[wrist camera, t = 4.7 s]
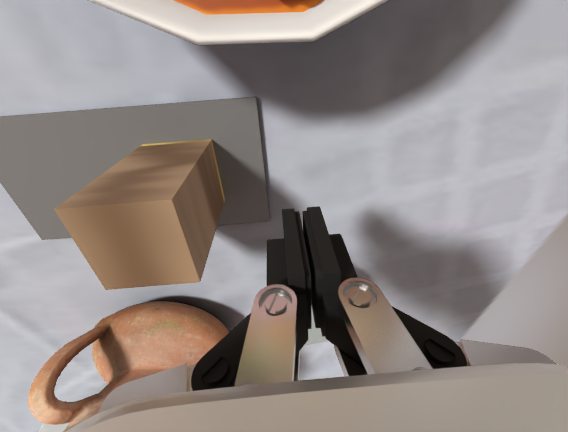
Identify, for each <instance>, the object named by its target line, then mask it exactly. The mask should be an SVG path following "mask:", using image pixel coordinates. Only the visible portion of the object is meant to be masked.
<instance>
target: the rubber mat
mask: <svg viewBox="0 0 568 432" xmlns="http://www.w3.org/2000/svg"><path fill="white" fill-rule="evenodd" d="M206 139H212V143H213V147H214V152H215V156H216V161H217V166H218V170H219V175H220V179H221V184H222V189H223V193H224V198H225V201H224V204H223V208H222V211H221V214H220V218H219V221H218V224H217V226H219V225H231V224H244V223H256V222H268V221H270V214H269V206H268V197H267V188H266V179H265V170H264V161H263V153H262V144H261V135H260V126H259V117H258V108H257V100H256V97H245V98H232V99H219V100H207V101H194V102H181V103H168V104H155V105H143V106H130V107H117V108H104V109H92V110H79V111H66V112H53V113H40V114H28V115H15V116H2V117H0V183H1V184H2V186H3V187H4V188H5V190H6V191H7V192H8V194H9V195H10V197H11V198H12V199H13V201H14V202H15V203H16V205H17V206H18V208H19V209H20V210H21V212H22V213H23V214H24V216H25V217H26V218H27V220H28V221H29V223H30V224H31V225H32V227H33V228H34V229H35V231H36V232H37V234H38V235H39V236H40V238H41V239H42V240H46V239H58V238H71V235H70V233H69V232H68V230H67V229H66V227H65V226H64V224H63V223H62V221H61V220H60V218H59V216H58V215H57V213H56V212H55V210H54V209H55V208H56V207H57V206H59V205H60V204H61V203H63V202H64V201H65V200H67V199H68V198H70V197H71V196H72V195H74V194H75V193H76V192H78V191H79V190H81V189H82V188H83V187H85V186H86V185H87V184H89V183H90V182H92V181H93V180H94V179H96V178H97V177H98V176H100V175H101V174H103V173H104V172H105V171H107V170H108V169H109V168H111V167H112V166H114V165H115V164H116V163H118V162H119V161H120V160H122V159H123V158H125V157H126V156H127V155H129V154H130V153H131V152H133V151H134V150H136V149H137V148H138V147H140V146H141V145H143V144H156V143H169V142H181V141H194V140H206Z"/></svg>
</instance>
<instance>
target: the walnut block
mask: <svg viewBox="0 0 568 432" xmlns="http://www.w3.org/2000/svg"><path fill="white" fill-rule="evenodd" d="M224 201H225V198H224V193H223V189H222V184H221V179H220V175H219V170H218V166H217V161H216V156H215V152H214V147H213V143H212V139H206V140H194V141H181V142H169V143H156V144H143V145H141V146H140V147H138V148H137V149H136V150H134V151H133V152H131V153H130V154H129V155H127V156H126V157H125V158H123V159H122V160H120V161H119V162H118V163H116V164H115V165H114V166H112V167H111V168H109V169H108V170H107V171H105V172H104V173H103V174H101V175H100V176H98V177H97V178H96V179H94V180H93V181H92V182H90V183H89V184H87V185H86V186H85V187H83V188H82V189H81V190H79V191H78V192H76V193H75V194H74V195H72V196H71V197H70V198H68V199H67V200H65V201H64V202H63V203H61V204H60V205H59V206H57V207H56V208H55V209H54V210H55V212H56V213H57V215H58V216H59V218H60V220H61V221H62V223H63V224H64V226H65V227H66V229H67V230H68V232H69V233H70V235H71V237H72V238H73V240H74V241H75V243H76V244H77V246H78V247H79V249H80V251H81V252H82V254H83V255H84V257H85V258H86V260H87V261H88V263H89V265H90V266H91V268H92V269H93V271H94V272H95V274H96V275H97V277H98V278H99V280H100V282H101V283H102V285H103V286H104V288H105V289H106V290H109V289H121V288H133V287H145V286H157V285H170V284H182V283H194V282H200V281H201V277H202V274H203V271H204V267H205V264H206V261H207V257H208V254H209V251H210V248H211V244H212V241H213V238H214V234H215V231H216V228H217V224H218V221H219V218H220V214H221V211H222V208H223V204H224Z"/></svg>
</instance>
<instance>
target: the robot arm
mask: <svg viewBox="0 0 568 432" xmlns="http://www.w3.org/2000/svg"><path fill="white" fill-rule="evenodd" d="M282 216H283V229H284V239H272V240H267V287H265V288H263V289H262V290H260V291H259V292H258V294H257V295H256V297H255V299H254V303H253V307H252V312H251V313H250V314H249V315H248V316H247V317H246V318H245V319H244V320H242V321H241V322H240V323H239V324H238V325H237V326H236V327H235V328H234V329H233V330H231V331H230V332H229V333H228V334H227V335H226V336H225V337H224V338H223V339H221V340H220V341H219V342H218V343H217V344H216V345H215V346H214V347H213V348H212V349H210V350H209V351H208V352H207V353H206V354H205V355H204V356H203V357H202V358H201V359H200V360H199V361H198V362H197V363H196V364H193V365H190V366H188V364H187V363H186V364H183V365H180V366H177V367H174V368H171V369H168V370H165V371H161V372H158V373H155V374H152V375H149V376H146V377H143V378H140V379H137V380H134V381H130V382H127V383H125V384H123V385H121V386H119V387H117V388H116V389H114V390H113V391H112V392H111V393H110V394H108V396H107V397H106V398H105V400H104V401H103V402H102V404H101V406H100V408H99V411H98V413H97V414H96V415H93V416H92V417H90V418H88V419H86V420H84V421H82V422H81V423H79V424H77V425H75V426H74V427H72V428H71V429H69V430H67V431H66V432H568V366H565V365H558V364H556V363H555V362H553V361H552V360H551V359H549V358H548V357H547V356H545V355H543V354H541V353H539V352H538V351H535V350H532V349H528V348H522V347H515V346H508V345H500V344H492V343H485V342H477V341H469V340H462V339H461V340H460V342H454V341H453V340H451V339H450V338H449V337H447V336H446V335H444V334H442V333H440V332H438V331H436V330H435V329H433V328H431V327H429V326H427V325H425V324H424V323H422V322H420V321H418V320H416V319H414V318H412V317H411V316H409V315H407V314H405V313H403V312H401V311H400V310H398V309H396V308H394V307H392V306H391V305H390V303H389V302H388V300H387V299H386V297H385V296H384V294H383V293H382V291H381V290H380V289H379V288H378V286H377V285H376V284H374V283H373V282H371V281H369V280H367V279H364V278H358V277H357V274H356V272H355V269H354V267H353V264H352V262H351V259H350V256H349V254H348V251H347V249H346V246H345V244H344V241H343V238H342V236H341V235H340V234H332V235H329V233H328V230H327V227H326V224H325V221H324V218H323V215H322V212H321V209H320V207H308V208H307V211H303V229H302V224H301V219H300V213H299V211H298V212H295V211H294V209H283V210H282ZM311 305H312V310H313V316H314V322H315V327H316V328H321V333H322V337H323V336H325V338H326V339H327V340H328V341H330V342H331V343H332V344H334V348H335V352H336V355H337V357H338V360H339V363H340V365H341V368H342V371H343V373H344V376H345V377H335V378H324V379H313V380H301V381H299V363H300V349H301V348H302V347H303V346H304V345H305V343H306V342H307V341H308V329H312V317H311Z"/></svg>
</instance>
